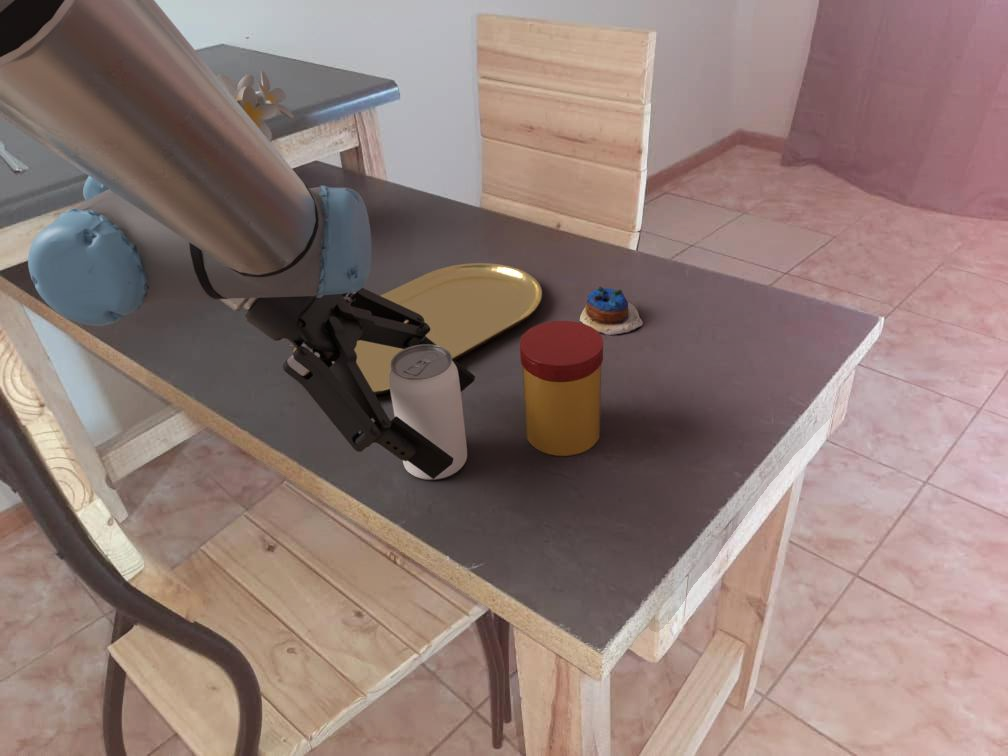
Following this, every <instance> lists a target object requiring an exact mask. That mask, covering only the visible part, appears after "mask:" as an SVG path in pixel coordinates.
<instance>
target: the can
mask: <svg viewBox="0 0 1008 756" xmlns="http://www.w3.org/2000/svg"><path fill="white" fill-rule="evenodd" d="M389 386H390V398H391V403H392V411H393V415H394V418H395V417H396V416H397V417H398V418H400V419H401V420H402V421H404V422H405V423H406V424H408V425H409V426H410V427H412V428H413V429H415V430H416V431H417V432H419V433H420V434H421V435H423V436H424V437H425V438H427V439H428V440H429V441H431V442H432V443H434V444H435V445H436V446H438V447H439V448H440V449H442V450H443V451H444V452H446V453H447V454H448V455H450V456H451V457H452V458H454V459H453V463H452V465H450V466H449V467H448V468H447V469H445V470H444V471H443V472H442V473H440V474H439V475H438V476H437V477H435V478H434V479H432V478H431V477H430V476H428V475H427V474H425V473H424V472H423V471H421V470H420V469H418V468H417V467H416V466H414V465H413V464H411V463H410V462H409V461H403V460H402V464H403V467H404V469H405V470H406V472H407V473H409V474H411V475H412V476H413V477H416V478H418V479H420V480H425V481H437V480H443V479H446V478H449V477H451V476H453V475H455V474H456V473H458V472H459V471H460V470H461V469H462V468H463V466H464V465H465V463H467V458H468V448H467V447H468V445H467V437H466V428H465V417H464V410H463V400H462V392H461V391H460V383H459V375H458V370H457V367H456V365H455V364H454V362H453V361H452V356H451V354H450V352H449V351H448V350H447V349H445V348H443V347H441V346H437V345H431V344H422V345H415V346H411V347H408V348H406V349H403V350H401V351H400V352H398V353H397V354H396V355H395V356H394V357H393V359H392V361H391V371H390V374H389Z"/></svg>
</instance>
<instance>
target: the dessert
mask: <svg viewBox="0 0 1008 756" xmlns="http://www.w3.org/2000/svg"><path fill="white" fill-rule="evenodd" d="M579 322H580V323H583V324H586V325H588V326H590V327H592V328H594V329H595V330H597V331H598V332H599V333H602V334H605V335H607V336H613V335H618V334H625V333H629V332H631V331H634V330H636V329H637V328H639V327H642V326H643V325H644V322H643V320H642V319H641V318H640V313H639V310H638V309H637V308H636V306H635V305H633V304H632V303H630V302H628V299H627V298H626V297H625V294H624V293H623V291H622V290H621V289H617V290H616V289H612V288H609V287H608V288H607V287H602V286H599V287H598V288H596V289H594V290H592V291H591V292H590V293H588V295H587V300H586V303H585V307H584V308H583V310H582V311H581V314H580V317H579Z"/></svg>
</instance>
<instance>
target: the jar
mask: <svg viewBox="0 0 1008 756" xmlns="http://www.w3.org/2000/svg"><path fill="white" fill-rule="evenodd" d="M522 380H523V382H522V383H523V401H524V417H525V419H524V421H525V436H526V438H527V441H528V442H529V444H530V445H531V446H532V447H533V448H534V449H536V450H538V451H539V452H542V453H544V454H547V455H550V456H556V457H568V456H569V457H570V456H575V455H580V454H581V453H584V452H586V451H588V450H590V449H591V448H592V447H594V446H595V445H596V444H597V442H598V441H599V439H600V437H601V405H602V404H601V401H602V399H601V398H602V364H601V365H600V367H599V368H598V369H597V370H596V371H595V372H593V373H592V374H590V375H588V376H586V377H583V378H580V379H577V380H571V381H550V380H545V379H542V378H538V377H536V376H534V375H532V374H530V373H529V372H528V371H526V370H525V368H524V367H523V366H522Z"/></svg>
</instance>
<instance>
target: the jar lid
mask: <svg viewBox="0 0 1008 756" xmlns="http://www.w3.org/2000/svg"><path fill="white" fill-rule="evenodd" d="M519 354H520V355H519V356H520V364H521V365H522V368H523V367H524V368H525V370H526V371H528V372H529V373H530V374H532V375H534V376H536V377H538V378H542V379H545V380H550V381H571V380H577V379H580V378H583V377H586V376H588V375H590V374H592V373H593V372H595V371H596V370H597V369H598V368H599V367H600V365H601V366H602V364H603V361H604V339H603V336H602V335H601V332H598V331H597V330H595V329H594V328H592V327H590V326H588V325H586V324H583V323H582V322H580V321H579V322H578V321H573V320H554V321H547V322H543V323H540V324H537V325H535V326H532V327H531V328H529V329H528V330H527V331H525V332H524V334H522V336H521V338H520V340H519Z"/></svg>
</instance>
